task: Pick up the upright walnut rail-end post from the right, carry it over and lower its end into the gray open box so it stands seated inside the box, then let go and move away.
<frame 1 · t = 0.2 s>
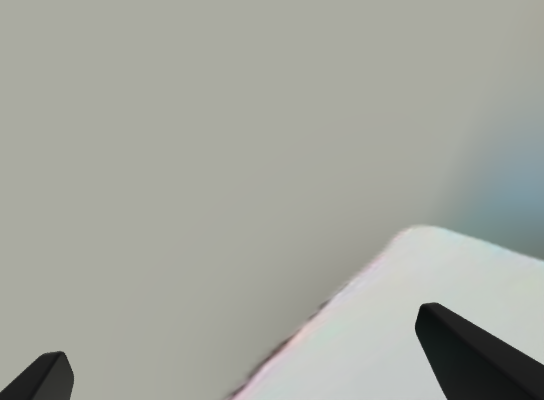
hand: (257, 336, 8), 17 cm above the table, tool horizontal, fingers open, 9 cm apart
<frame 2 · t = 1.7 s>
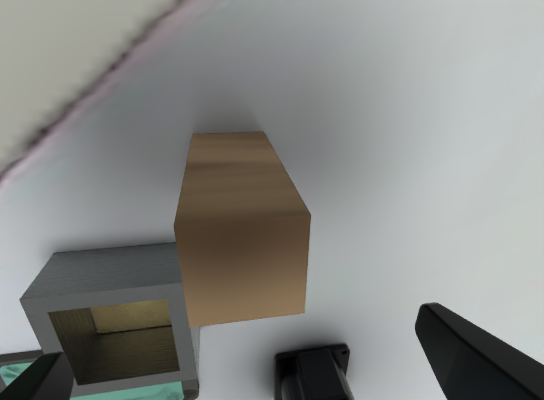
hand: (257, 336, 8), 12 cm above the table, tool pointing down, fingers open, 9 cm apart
rail post: (230, 166, 19), on the table
gray open box: (134, 295, 22), on the table
smartphone: (99, 371, 25), on the table
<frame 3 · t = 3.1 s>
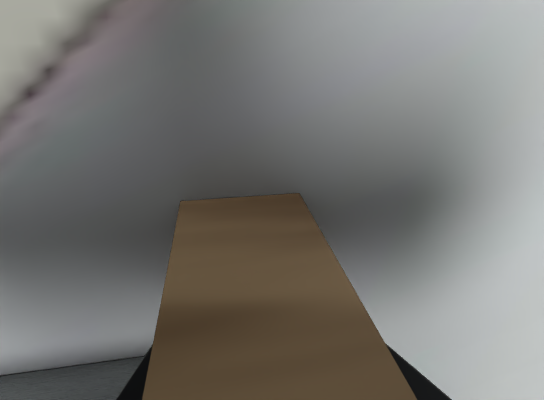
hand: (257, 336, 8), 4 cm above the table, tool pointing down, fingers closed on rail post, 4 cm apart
rail post: (243, 246, 12), on the table, touching gripper
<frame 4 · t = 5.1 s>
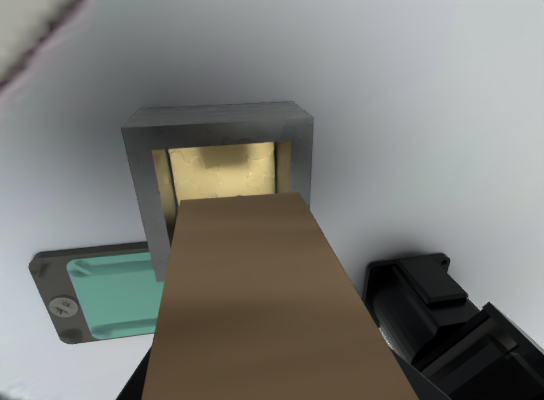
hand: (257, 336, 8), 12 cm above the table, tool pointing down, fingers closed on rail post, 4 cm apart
rail post: (243, 245, 12), point 8 cm above the table, touching gripper
gray open box: (225, 175, 19), on the table
smartphone: (171, 280, 22), on the table
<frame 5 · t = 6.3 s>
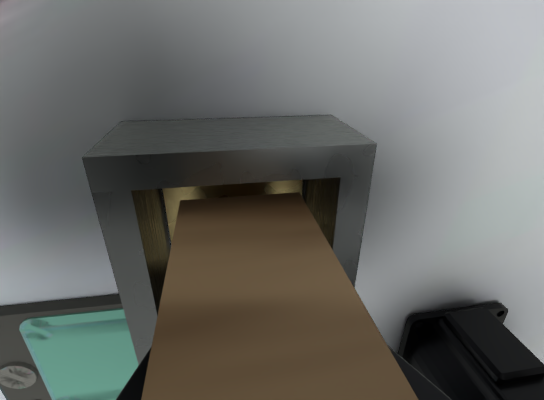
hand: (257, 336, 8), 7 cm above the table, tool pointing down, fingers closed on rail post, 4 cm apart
rail post: (243, 245, 12), point 3 cm above the table, touching gripper
gray open box: (236, 210, 14), on the table
smartphone: (161, 336, 17), on the table
when the fingers open (5 cm above the table, at t = 7.1 s): rail post stays where it is, resting on gray open box.
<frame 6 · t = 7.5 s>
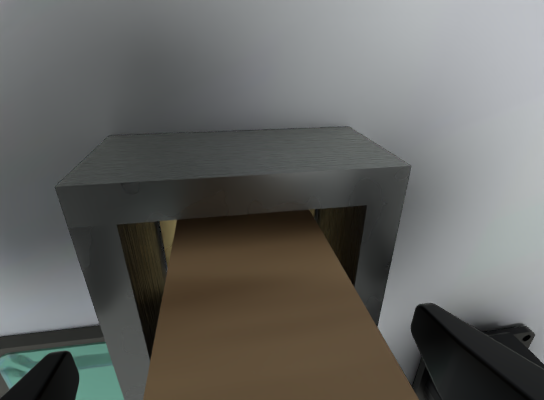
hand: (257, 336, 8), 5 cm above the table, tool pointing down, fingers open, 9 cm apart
rail post: (241, 234, 12), resting on gray open box
gray open box: (240, 232, 13), on the table
smartphone: (157, 365, 16), on the table
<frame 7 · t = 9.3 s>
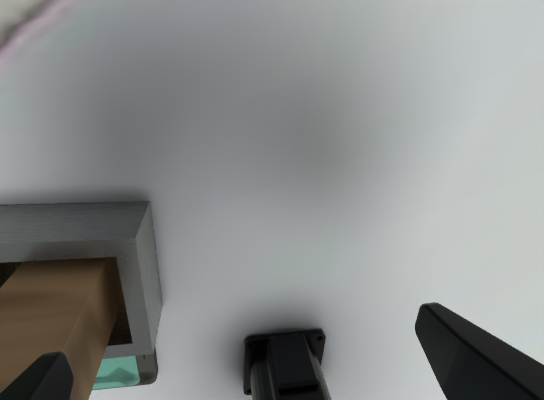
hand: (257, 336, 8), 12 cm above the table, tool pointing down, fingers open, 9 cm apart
rail post: (88, 262, 20), resting on gray open box
gray open box: (89, 260, 20), on the table
smartphone: (46, 347, 23), on the table
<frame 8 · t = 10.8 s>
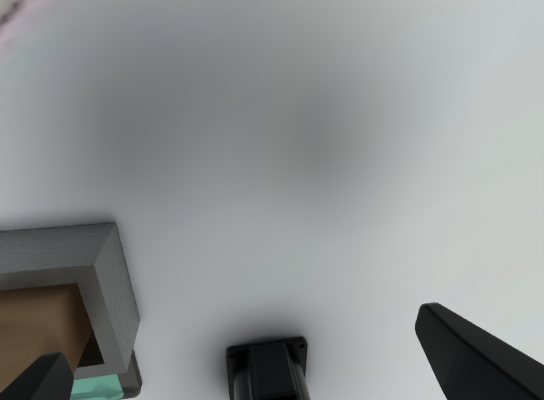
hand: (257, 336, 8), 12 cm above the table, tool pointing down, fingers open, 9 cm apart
rail post: (61, 284, 20), resting on gray open box
gray open box: (61, 282, 20), on the table
smartphone: (29, 365, 24), on the table
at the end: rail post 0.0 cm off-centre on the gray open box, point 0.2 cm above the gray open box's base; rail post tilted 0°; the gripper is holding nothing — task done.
